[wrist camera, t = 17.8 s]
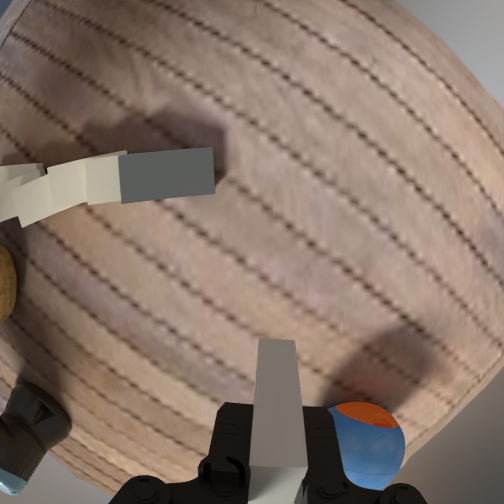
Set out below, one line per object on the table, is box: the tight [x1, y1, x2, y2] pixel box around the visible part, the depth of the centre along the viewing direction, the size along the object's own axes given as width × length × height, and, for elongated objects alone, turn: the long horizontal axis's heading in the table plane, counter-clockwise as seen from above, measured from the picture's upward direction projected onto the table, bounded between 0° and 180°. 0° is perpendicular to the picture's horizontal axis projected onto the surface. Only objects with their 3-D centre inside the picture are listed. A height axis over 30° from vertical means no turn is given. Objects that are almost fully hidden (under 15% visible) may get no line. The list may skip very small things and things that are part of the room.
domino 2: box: [0, 169, 46, 222], centre depth 34 cm, size 2×5×10 cm
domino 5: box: [85, 153, 137, 205], centre depth 33 cm, size 2×5×10 cm
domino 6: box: [118, 147, 215, 204], centre depth 32 cm, size 2×5×10 cm
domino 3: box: [11, 174, 80, 228], centre depth 33 cm, size 2×5×10 cm
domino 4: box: [47, 150, 128, 209], centre depth 33 cm, size 2×5×10 cm
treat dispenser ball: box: [328, 402, 405, 490], centre depth 36 cm, size 16×15×15 cm
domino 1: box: [0, 163, 43, 184], centre depth 36 cm, size 2×5×10 cm
